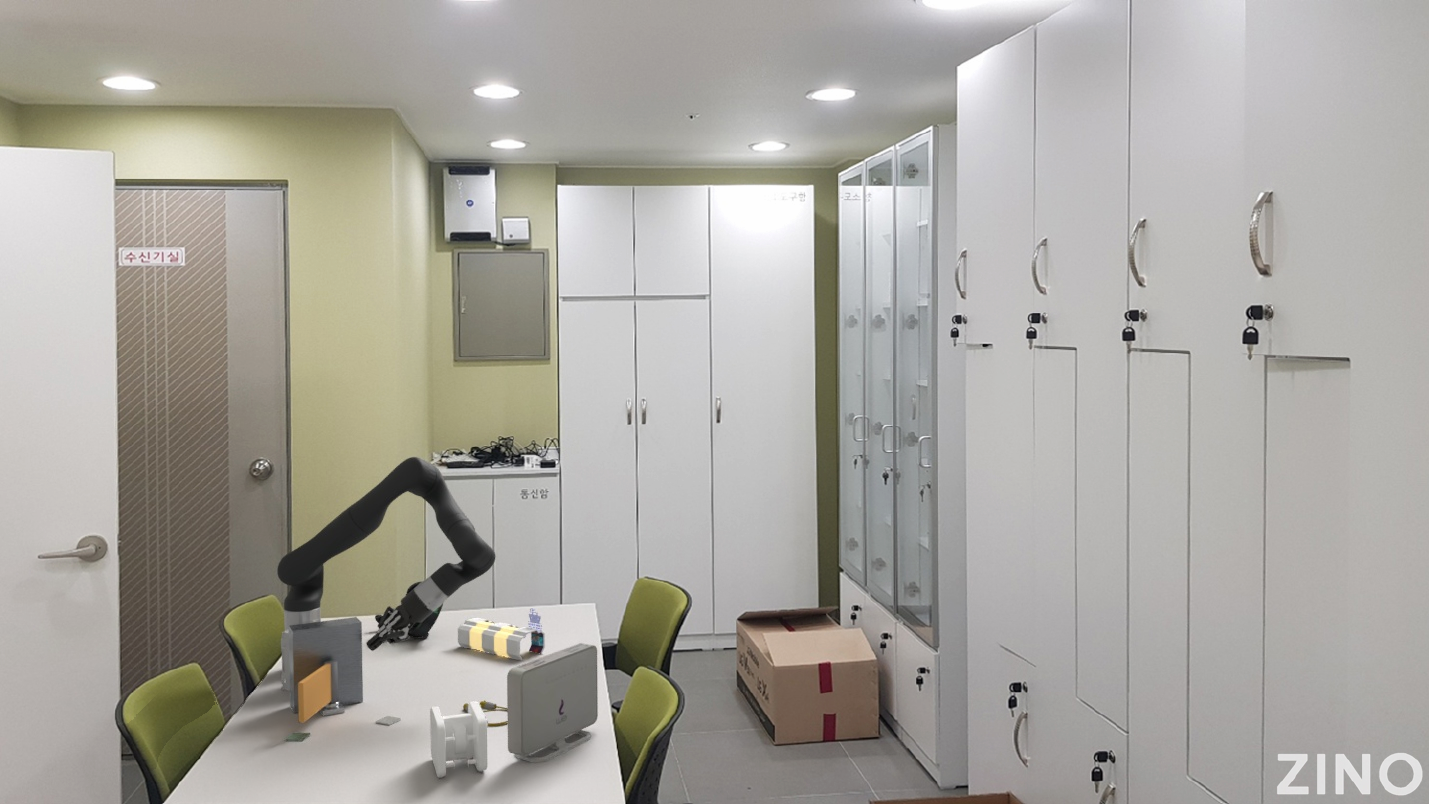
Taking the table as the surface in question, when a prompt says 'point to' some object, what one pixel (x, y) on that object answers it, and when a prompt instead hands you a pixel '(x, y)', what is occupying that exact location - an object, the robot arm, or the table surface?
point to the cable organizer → (458, 738)
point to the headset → (420, 627)
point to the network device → (552, 701)
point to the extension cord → (488, 706)
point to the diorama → (500, 636)
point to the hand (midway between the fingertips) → (369, 647)
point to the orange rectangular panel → (318, 690)
